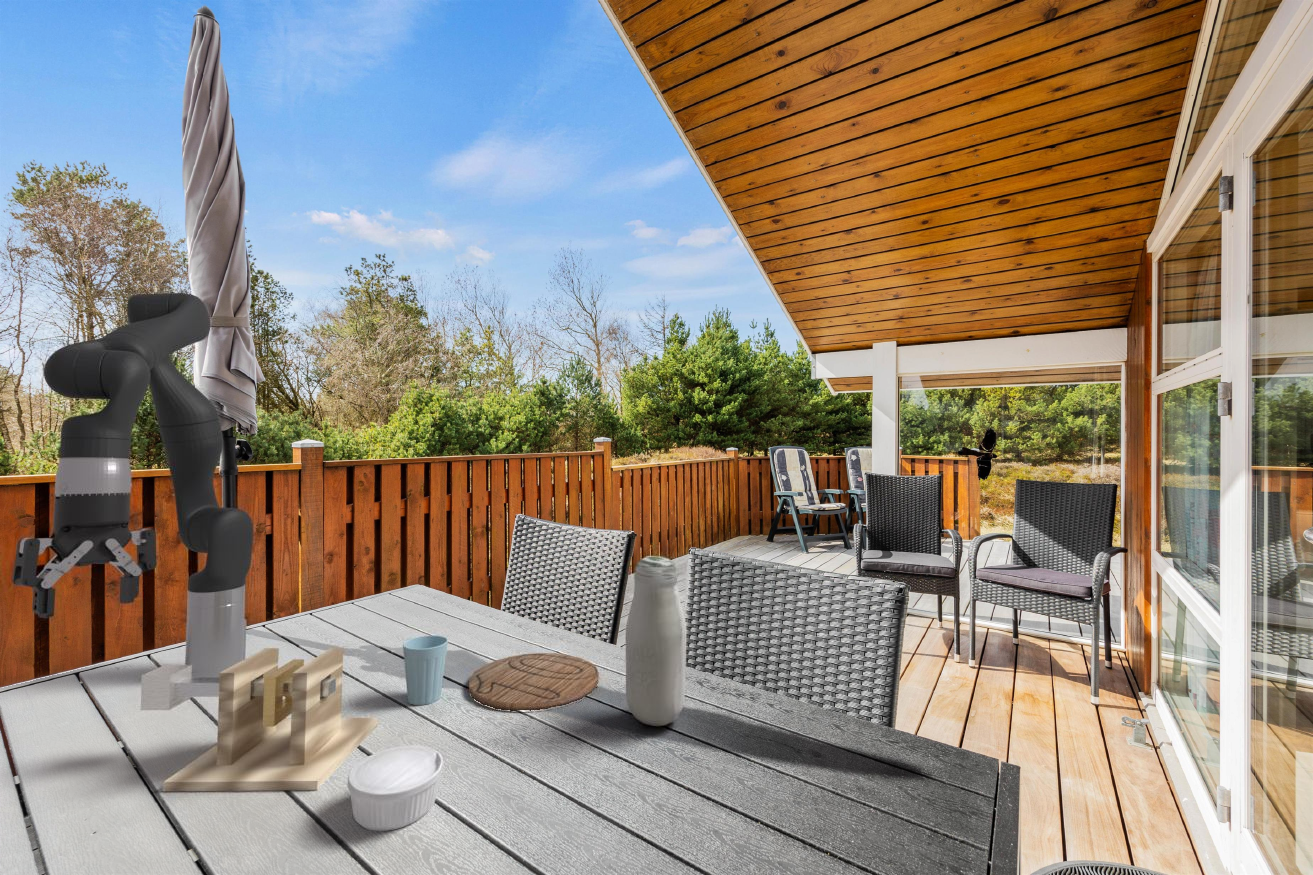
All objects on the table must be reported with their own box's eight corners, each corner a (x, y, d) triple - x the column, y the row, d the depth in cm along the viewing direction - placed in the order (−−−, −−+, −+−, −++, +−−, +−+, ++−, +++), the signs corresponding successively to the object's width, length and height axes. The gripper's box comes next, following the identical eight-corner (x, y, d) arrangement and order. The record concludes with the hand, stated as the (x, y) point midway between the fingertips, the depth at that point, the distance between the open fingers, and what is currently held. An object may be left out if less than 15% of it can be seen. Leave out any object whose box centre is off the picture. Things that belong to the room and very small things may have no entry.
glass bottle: (692, 714, 99) (694, 554, 100) (669, 741, 90) (671, 564, 91) (641, 703, 104) (644, 549, 104) (614, 727, 94) (617, 558, 95)
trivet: (555, 725, 96) (555, 713, 96) (439, 699, 105) (439, 688, 105) (619, 672, 119) (619, 663, 119) (519, 655, 128) (519, 646, 128)
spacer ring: (262, 726, 81) (264, 677, 81) (292, 704, 88) (293, 659, 88) (274, 726, 81) (275, 677, 81) (302, 704, 88) (304, 659, 88)
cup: (448, 687, 109) (449, 633, 109) (445, 705, 102) (446, 646, 102) (405, 692, 107) (406, 636, 107) (399, 710, 99) (400, 650, 100)
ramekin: (434, 832, 68) (435, 787, 68) (332, 844, 66) (334, 798, 66) (448, 779, 79) (449, 740, 79) (361, 787, 77) (362, 748, 77)
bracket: (162, 791, 75) (166, 684, 75) (253, 725, 93) (256, 639, 93) (317, 789, 76) (320, 684, 76) (377, 725, 94) (380, 639, 94)
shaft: (140, 710, 82) (141, 675, 82) (163, 698, 86) (164, 664, 86) (324, 709, 83) (325, 675, 83) (338, 697, 87) (339, 664, 87)
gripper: (140, 490, 87) (135, 597, 86) (7, 493, 74) (-1, 620, 73) (170, 489, 84) (165, 600, 83) (37, 492, 71) (29, 624, 70)
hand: (88, 609), depth 78 cm, fingers open, 8 cm apart
